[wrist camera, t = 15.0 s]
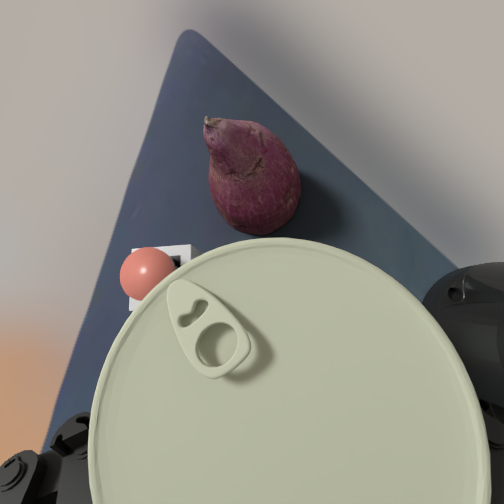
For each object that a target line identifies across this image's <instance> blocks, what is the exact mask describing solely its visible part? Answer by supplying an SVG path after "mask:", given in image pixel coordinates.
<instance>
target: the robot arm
mask: <svg viewBox="0 0 504 504" xmlns="http://www.w3.org/2000/svg"><path fill="white" fill-rule="evenodd" d="M422 305H423V306H424V307H425V308H426V309H427V310H428V312H429V313H430V314H431V315H432V316H433V317H434V318H435V320H436V321H437V322H438V324H439V325H440V326H441V328H442V329H443V330H444V332H445V333H446V335H447V336H448V338H449V339H450V341H451V342H452V344H453V346H454V347H455V349H456V351H457V353H458V355H459V356H460V358H461V360H462V362H463V364H464V366H465V368H466V371H467V373H468V375H469V377H470V380H471V382H472V384H473V386H474V389H475V392H476V395H477V398H478V400H479V403H480V407H481V411H482V415H483V419H484V422H485V427H486V432H487V438H488V444H489V450H490V464H491V504H504V262H492V263H485V264H479V265H474V266H468V267H464V268H461V269H458V270H455V271H453V272H451V273H449V274H447V275H445V276H444V277H442V278H441V279H440V280H439V281H437V282H436V283H435V284H434V285H433V286H432V288H431V289H430V290H429V291H428V293H427V294H426V296H425V298H424V300H423V302H422ZM90 416H91V413H89V412H83V413H80V414H77V415H75V416H73V417H72V418H70V419H68V420H67V421H66V422H65V423H64V424H63V425H62V426H61V427H60V428H59V429H58V431H57V432H56V434H55V435H54V436H53V439H52V441H51V444H50V446H49V447H50V448H52V449H53V450H50V451H48V452H45V453H42V454H40V455H38V454H36V453H35V452H34V451H32V450H26V451H25V450H24V451H22V452H20V453H17V454H15V455H14V456H12V457H11V458H10V459H8V460H7V461H6V462H4V463H3V464H2V465H1V467H0V504H93V501H92V496H91V490H90V485H89V469H88V436H89V424H90Z"/></svg>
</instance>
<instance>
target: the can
mask: <svg viewBox="0 0 504 504" xmlns="http://www.w3.org/2000/svg"><path fill="white" fill-rule="evenodd" d="M88 469H89V485H90V490H91V496H92V501H93V504H491V464H490V450H489V444H488V438H487V432H486V427H485V422H484V419H483V415H482V411H481V407H480V403H479V400H478V398H477V395H476V392H475V389H474V386H473V384H472V382H471V380H470V377H469V375H468V373H467V371H466V368H465V366H464V364H463V362H462V360H461V358H460V356H459V355H458V353H457V351H456V349H455V347H454V346H453V344H452V342H451V341H450V339H449V338H448V336H447V335H446V333H445V332H444V330H443V329H442V328H441V326H440V325H439V324H438V322H437V321H436V320H435V318H434V317H433V316H432V315H431V314H430V313H429V312H428V310H427V309H426V308H425V307H424V306H423V305H422V304H421V303H420V302H419V300H418V299H417V298H416V297H414V296H413V295H412V294H411V293H410V292H409V291H408V290H407V289H406V288H405V287H404V286H402V285H401V284H400V283H399V282H397V281H396V280H395V279H394V278H392V277H391V276H389V275H388V274H386V273H385V272H383V271H382V270H381V269H379V268H378V267H376V266H374V265H372V264H371V263H369V262H367V261H365V260H364V259H362V258H360V257H357V256H355V255H353V254H351V253H348V252H346V251H344V250H341V249H338V248H335V247H332V246H329V245H325V244H322V243H318V242H313V241H308V240H302V239H293V238H259V239H252V240H246V241H240V242H236V243H232V244H229V245H225V246H222V247H219V248H216V249H214V250H211V251H209V252H206V253H204V254H202V255H200V256H198V257H196V258H194V259H192V260H190V261H189V262H187V263H186V264H184V265H182V266H181V267H179V268H178V269H176V270H175V271H173V272H172V273H171V274H169V275H168V276H167V277H166V278H164V279H163V280H162V281H161V282H160V283H159V284H158V285H156V286H155V287H154V288H153V289H152V290H151V291H150V292H149V293H148V294H147V295H146V296H145V298H144V299H143V300H142V301H141V302H140V303H139V305H138V306H137V307H136V308H135V310H134V311H133V312H132V314H131V315H130V316H129V318H128V319H127V321H126V322H125V324H124V325H123V327H122V329H121V331H120V332H119V334H118V336H117V337H116V339H115V341H114V343H113V345H112V347H111V349H110V351H109V353H108V355H107V358H106V361H105V363H104V366H103V368H102V371H101V374H100V377H99V380H98V384H97V387H96V391H95V395H94V399H93V404H92V410H91V416H90V424H89V436H88Z"/></svg>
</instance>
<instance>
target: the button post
mask: <svg viewBox="0 0 504 504" xmlns="http://www.w3.org/2000/svg"><path fill="white" fill-rule="evenodd" d="M153 248H157V249H159V250H161V251H163V252H165V253H166V254H168V255H169V256H170V257H171V259H172V260H173V262H174V265H181V266H182V265H184V264H186V263H187V262H189V261H190V260H192V259H194V258H196V257H198V256H200V255H202V254H203V253H202V252H200V251H199V250H198V249H196V248H195V247H193V246H192V245H191V244H190V245H177V246H164V247H153ZM139 249H140V248H139ZM136 250H138V249H132V253H133V252H134V251H136ZM140 302H141V301H139V300H135V299H133V298H131V297H130V301H129V311H134V310H135V308H136V307H137V306H138V305H139V303H140Z"/></svg>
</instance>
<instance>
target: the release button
mask: <svg viewBox="0 0 504 504" xmlns="http://www.w3.org/2000/svg"><path fill="white" fill-rule="evenodd" d="M178 268H179V267H177V266H175V265H174V262H173V260H172V259H171V257H170V256H169V255H168V254H166V253H165V252H163V251H161V250H159V249H157V248H153V247H145V248H140V249H138V250H136V251H134V252H133V253H131V254H130V255H129V256H128V257H127V258H126V260H125V261H124V263H123V265H122V268H121V271H120V282H121V286H122V288H123V290H124V291H125V293H126V294H127V295H128V296H130V297H131V298H133V299H135V300H139V301H142V300H143V299H144V298H145V296H146V295H147V294H148V293H149V292H150V291H151V290H152V289H153V288H154V287H155V286H156V285H158V284H159V283H160V282H161V281H162V280H163V279H164V278H166V277H167V276H168V275H169V274H171V273H172V272H173V271H175V270H176V269H178Z"/></svg>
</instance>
